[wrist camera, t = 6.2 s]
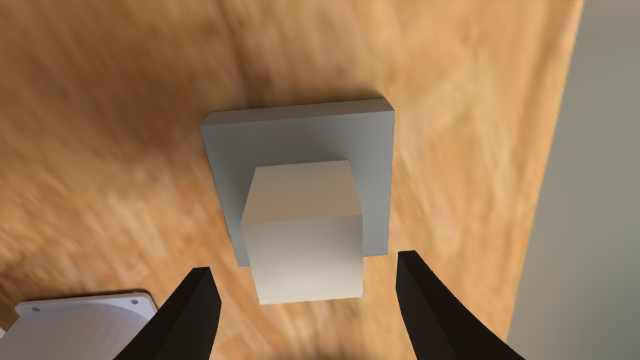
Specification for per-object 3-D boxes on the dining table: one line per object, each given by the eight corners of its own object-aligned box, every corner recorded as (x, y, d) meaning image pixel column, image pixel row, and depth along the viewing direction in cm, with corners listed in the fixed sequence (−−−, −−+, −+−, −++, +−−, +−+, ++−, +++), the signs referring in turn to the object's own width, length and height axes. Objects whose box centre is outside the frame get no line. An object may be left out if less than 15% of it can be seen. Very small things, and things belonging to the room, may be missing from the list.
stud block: (244, 244, 21) (232, 293, 17) (210, 112, 16) (184, 144, 13) (380, 233, 21) (395, 280, 17) (385, 97, 16) (406, 126, 13)
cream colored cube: (270, 237, 18) (260, 304, 14) (256, 167, 16) (239, 224, 12) (350, 231, 18) (362, 296, 14) (348, 159, 16) (362, 214, 12)
